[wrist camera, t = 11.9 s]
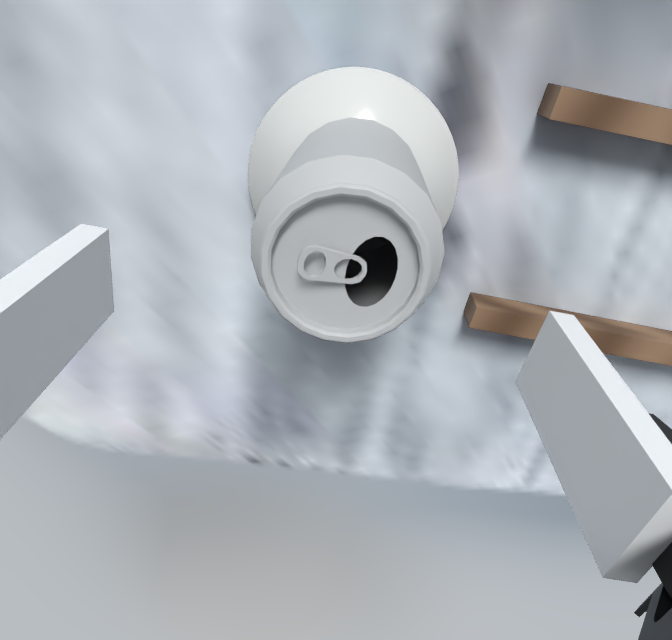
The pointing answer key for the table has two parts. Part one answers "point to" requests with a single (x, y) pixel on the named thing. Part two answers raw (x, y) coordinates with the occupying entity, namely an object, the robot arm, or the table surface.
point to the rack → (530, 318)
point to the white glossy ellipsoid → (357, 102)
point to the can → (348, 234)
